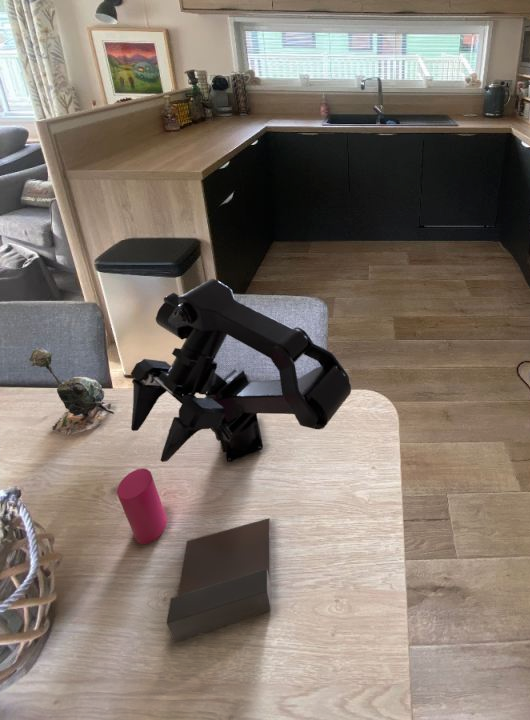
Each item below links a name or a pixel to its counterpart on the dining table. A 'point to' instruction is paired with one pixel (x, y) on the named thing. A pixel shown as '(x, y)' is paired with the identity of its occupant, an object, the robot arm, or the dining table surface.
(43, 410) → the dining table surface
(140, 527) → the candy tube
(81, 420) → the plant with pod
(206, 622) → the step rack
